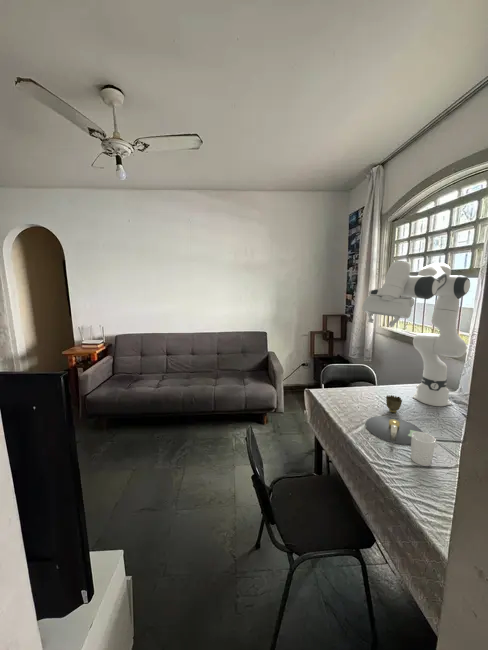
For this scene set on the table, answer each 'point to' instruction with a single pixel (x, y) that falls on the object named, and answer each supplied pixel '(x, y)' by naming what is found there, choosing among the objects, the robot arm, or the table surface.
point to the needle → (393, 428)
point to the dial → (382, 430)
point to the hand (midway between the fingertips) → (380, 324)
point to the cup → (393, 403)
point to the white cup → (422, 448)
